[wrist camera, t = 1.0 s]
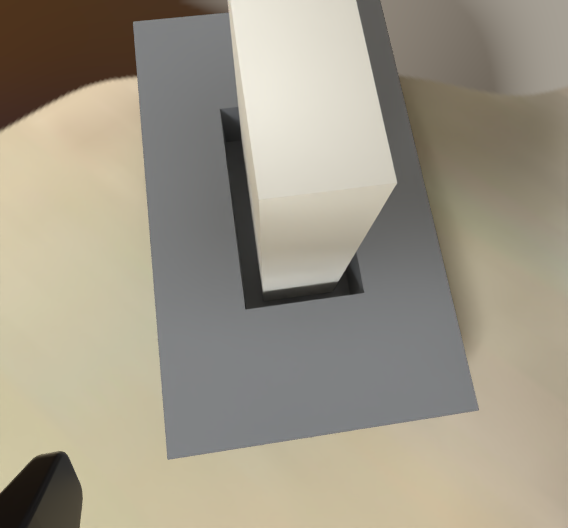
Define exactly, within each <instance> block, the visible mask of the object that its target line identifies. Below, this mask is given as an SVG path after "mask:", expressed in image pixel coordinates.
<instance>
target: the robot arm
mask: <svg viewBox="0 0 568 528" xmlns="http://www.w3.org/2000/svg"><path fill="white" fill-rule="evenodd" d="M82 500H83V497H82V488H81V485H80V482H79V480H78V478H77V475H76V473H75V471H74V468H73V466H72V464H71V461H70V459H69V457H68V455H67V454H66V453H65V452H62V451H58V452H53V453H47V454H41V455H38V456H36V457H35V458H33V459H32V460H31V461H30V462H29V463H28V464H27V465H26V467H25V468H24V469H23V470H22V471H21V472H20V473H19V474H18V475H17V476H16V477H15V478H14V479H13V480H12V481H11V482H10V483H9V485H8V486H7V487H6V488H5V489H4V490H3V491H2V492H1V493H0V528H80V519H81V510H82Z"/></svg>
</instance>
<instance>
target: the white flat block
mask: <svg viewBox="0 0 568 528" xmlns="http://www.w3.org/2000/svg"><path fill="white" fill-rule="evenodd" d="M228 8H229V19H230V29H231V39H232V48H233V58H234V68H235V78H236V88H237V98H238V108H239V118H240V128H241V138H242V148H243V157H244V164H245V171H246V179H247V186H248V193H249V200H250V208H251V215H252V222H253V229H254V237H255V244H256V251H257V258H258V266H259V273H260V280H261V287H262V295H263V301H268V300H275V299H283V298H290V297H297V296H304V295H312V294H319V293H326V292H332V291H333V290H334V288H335V286H336V285H337V283H338V281H339V280H340V278H341V276H342V275H343V273H344V271H345V270H346V268H347V266H348V264H349V263H350V261H351V259H352V258H353V256H354V254H355V253H356V251H357V249H358V248H359V246H360V244H361V243H362V241H363V239H364V238H365V236H366V234H367V233H368V231H369V229H370V228H371V226H372V224H373V223H374V221H375V219H376V218H377V216H378V214H379V213H380V211H381V209H382V208H383V206H384V204H385V202H386V201H387V199H388V197H389V196H390V194H391V192H392V191H393V189H394V187H395V186H396V184H397V179H396V175H395V171H394V166H393V162H392V157H391V153H390V148H389V144H388V140H387V135H386V131H385V126H384V122H383V117H382V113H381V109H380V104H379V100H378V95H377V91H376V86H375V82H374V77H373V73H372V69H371V64H370V60H369V55H368V51H367V46H366V42H365V38H364V33H363V29H362V24H361V20H360V15H359V11H358V7H357V2H356V0H228Z"/></svg>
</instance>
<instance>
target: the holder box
mask: <svg viewBox="0 0 568 528" xmlns="http://www.w3.org/2000/svg"><path fill="white" fill-rule="evenodd" d="M356 2H357V7H358V11H359V15H360V20H361V24H362V29H363V33H364V38H365V42H366V46H367V51H368V55H369V60H370V64H371V69H372V73H373V77H374V82H375V86H376V91H377V95H378V100H379V104H380V109H381V113H382V117H383V122H384V126H385V131H386V135H387V140H388V144H389V148H390V153H391V157H392V162H393V166H394V171H395V175H396V179H397V184H396V186H395V187H394V189H393V191H392V192H391V194H390V196H389V197H388V199H387V201H386V202H385V204H384V206H383V208H382V209H381V211H380V213H379V214H378V216H377V218H376V219H375V221H374V223H373V224H372V226H371V228H370V229H369V231H368V233H367V234H366V236H365V238H364V239H363V241H362V243H361V244H360V246H359V248H358V249H357V251H356V253H355V254H354V256H353V258H352V259H351V261H350V263H349V264H348V266H347V268H346V270H345V271H344V273H343V275H342V276H341V278H340V280H339V281H338V283H337V285H336V286H335V288H334V290H333V291H332V292H326V293H319V294H312V295H304V296H297V297H290V298H283V299H275V300H268V301H263V295H262V287H261V280H260V273H259V266H258V258H257V251H256V244H255V237H254V229H253V222H252V215H251V208H250V200H249V193H248V186H247V179H246V171H245V164H244V157H243V148H242V138H241V128H240V118H239V108H238V98H237V88H236V78H235V68H234V58H233V48H232V39H231V29H230V19H229V13H220V14H209V15H199V16H188V17H178V18H169V19H157V20H147V21H137V22H133V27H134V40H135V53H136V64H137V78H138V91H139V103H140V116H141V129H142V141H143V154H144V167H145V179H146V192H147V205H148V217H149V230H150V243H151V256H152V268H153V281H154V294H155V306H156V319H157V332H158V344H159V357H160V370H161V382H162V395H163V408H164V420H165V433H166V446H167V459H168V460H169V459H175V458H182V457H188V456H194V455H201V454H207V453H213V452H220V451H226V450H232V449H238V448H245V447H251V446H257V445H264V444H270V443H276V442H283V441H289V440H295V439H302V438H308V437H314V436H320V435H327V434H333V433H339V432H346V431H352V430H358V429H365V428H371V427H377V426H383V425H390V424H396V423H402V422H409V421H415V420H421V419H428V418H434V417H440V416H447V415H453V414H459V413H465V412H472V411H478V410H479V408H478V404H477V400H476V395H475V391H474V387H473V383H472V379H471V375H470V371H469V366H468V362H467V358H466V354H465V350H464V346H463V342H462V337H461V333H460V329H459V325H458V321H457V317H456V313H455V308H454V304H453V300H452V296H451V292H450V288H449V284H448V279H447V275H446V271H445V267H444V263H443V259H442V255H441V250H440V246H439V242H438V238H437V234H436V230H435V226H434V221H433V217H432V213H431V209H430V205H429V201H428V197H427V192H426V188H425V184H424V180H423V176H422V172H421V168H420V163H419V159H418V155H417V151H416V147H415V143H414V139H413V134H412V130H411V126H410V122H409V118H408V114H407V110H406V105H405V101H404V97H403V93H402V89H401V85H400V80H399V76H398V72H397V68H396V64H395V60H394V56H393V51H392V47H391V43H390V39H389V35H388V31H387V27H386V22H385V18H384V14H383V10H382V6H381V2H380V0H356Z"/></svg>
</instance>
